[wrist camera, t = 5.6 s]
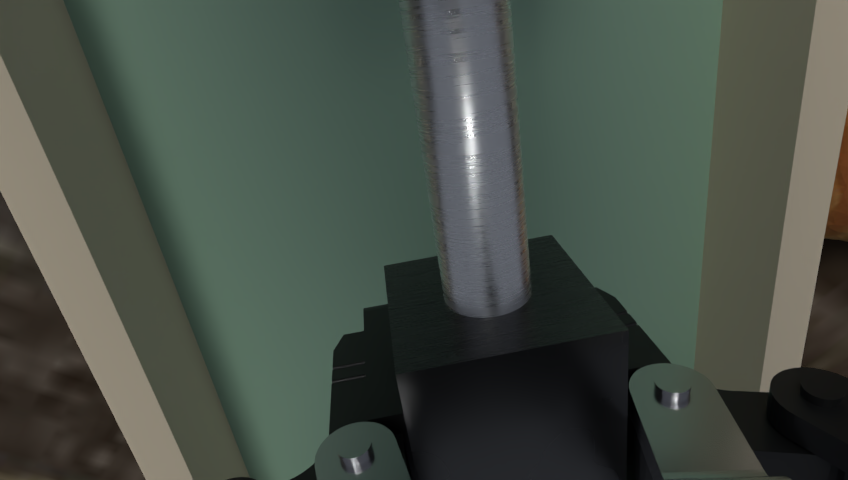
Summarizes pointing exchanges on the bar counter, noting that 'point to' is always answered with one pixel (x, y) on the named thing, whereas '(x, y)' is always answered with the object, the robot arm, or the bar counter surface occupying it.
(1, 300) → the bar counter surface
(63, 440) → the bar counter surface
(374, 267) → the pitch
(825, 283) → the bar counter surface
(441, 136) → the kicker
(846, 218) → the pastry
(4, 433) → the bar counter surface
